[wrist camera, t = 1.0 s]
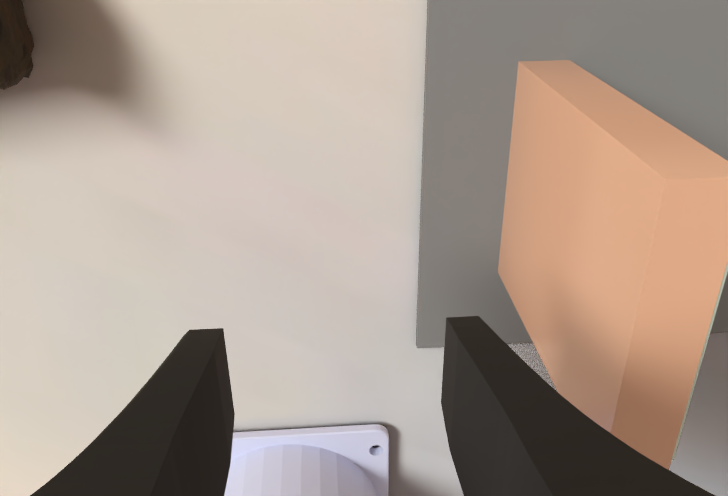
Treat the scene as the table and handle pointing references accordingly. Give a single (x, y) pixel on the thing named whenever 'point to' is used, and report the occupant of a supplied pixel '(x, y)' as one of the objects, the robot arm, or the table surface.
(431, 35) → the mat
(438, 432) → the table surface
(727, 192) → the tile
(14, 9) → the hand tool
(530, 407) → the robot arm
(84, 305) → the table surface
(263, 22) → the table surface
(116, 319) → the table surface
